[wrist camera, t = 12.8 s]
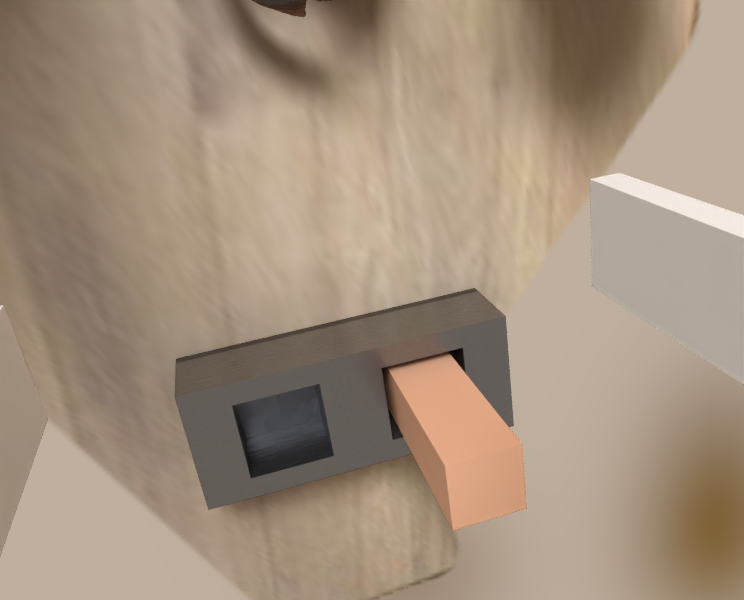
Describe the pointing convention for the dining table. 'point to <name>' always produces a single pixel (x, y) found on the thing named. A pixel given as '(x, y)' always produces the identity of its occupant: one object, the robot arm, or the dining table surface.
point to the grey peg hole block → (326, 393)
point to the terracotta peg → (456, 440)
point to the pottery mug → (286, 6)
